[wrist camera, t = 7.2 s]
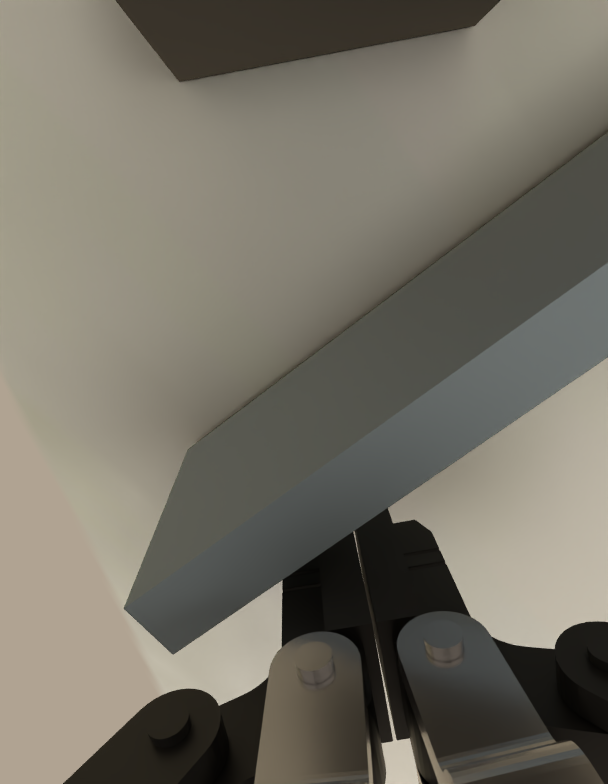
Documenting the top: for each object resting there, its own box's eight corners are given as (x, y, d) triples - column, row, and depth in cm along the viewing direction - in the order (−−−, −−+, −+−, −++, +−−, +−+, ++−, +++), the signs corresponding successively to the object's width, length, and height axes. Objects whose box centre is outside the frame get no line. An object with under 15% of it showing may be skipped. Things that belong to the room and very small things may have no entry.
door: (780, 1, 13) (1260, -204, 6) (824, 107, 13) (1296, 15, 7) (188, 449, 15) (123, 608, 9) (250, 517, 16) (230, 708, 10)
